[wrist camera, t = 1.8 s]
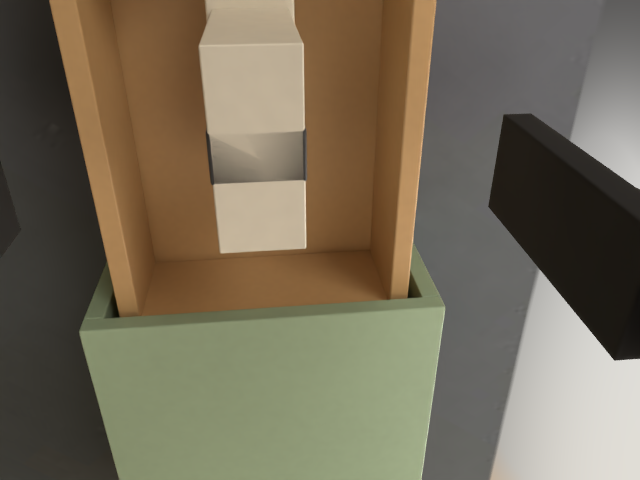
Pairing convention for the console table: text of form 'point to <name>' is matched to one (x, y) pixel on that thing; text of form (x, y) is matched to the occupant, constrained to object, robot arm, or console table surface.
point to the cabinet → (268, 387)
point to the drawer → (192, 158)
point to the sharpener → (255, 123)
